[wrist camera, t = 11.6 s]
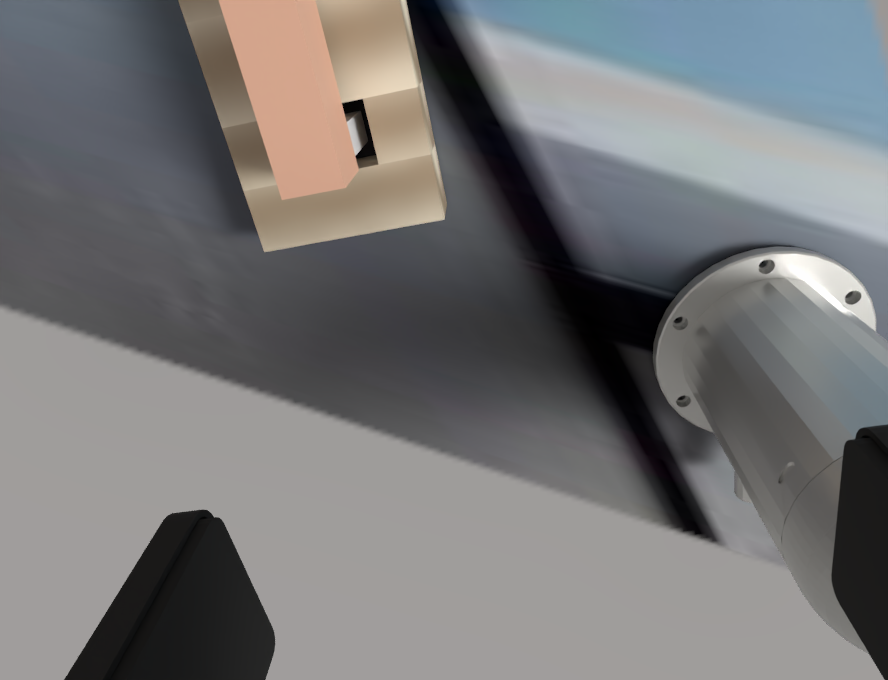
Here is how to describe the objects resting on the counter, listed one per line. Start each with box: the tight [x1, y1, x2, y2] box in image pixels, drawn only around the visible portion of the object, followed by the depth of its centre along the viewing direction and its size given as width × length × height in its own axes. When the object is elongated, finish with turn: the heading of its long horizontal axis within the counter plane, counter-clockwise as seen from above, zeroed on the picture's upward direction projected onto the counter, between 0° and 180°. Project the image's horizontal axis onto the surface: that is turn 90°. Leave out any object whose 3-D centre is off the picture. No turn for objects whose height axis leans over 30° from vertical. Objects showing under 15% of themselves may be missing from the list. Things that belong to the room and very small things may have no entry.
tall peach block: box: [219, 0, 368, 200], centre depth 30 cm, size 11×3×8 cm, turn 11°
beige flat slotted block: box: [178, 0, 447, 252], centre depth 32 cm, size 18×10×3 cm, turn 11°
